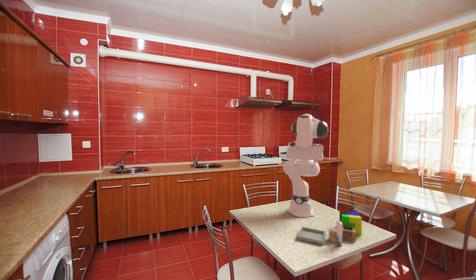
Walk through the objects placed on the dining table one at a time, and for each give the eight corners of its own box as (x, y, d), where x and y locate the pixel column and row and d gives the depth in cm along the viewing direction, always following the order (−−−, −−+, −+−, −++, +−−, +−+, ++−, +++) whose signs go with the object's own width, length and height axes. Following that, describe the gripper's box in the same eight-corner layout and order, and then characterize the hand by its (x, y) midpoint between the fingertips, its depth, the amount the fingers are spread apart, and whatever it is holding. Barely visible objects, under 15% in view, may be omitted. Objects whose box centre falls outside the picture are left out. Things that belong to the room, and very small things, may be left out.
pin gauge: (336, 243, 112) (336, 221, 111) (342, 244, 110) (342, 222, 110) (335, 245, 109) (336, 223, 109) (341, 247, 108) (342, 224, 108)
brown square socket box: (340, 232, 124) (340, 224, 123) (355, 235, 120) (355, 227, 120) (340, 238, 117) (340, 229, 117) (355, 241, 113) (355, 232, 113)
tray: (302, 230, 127) (302, 226, 127) (325, 235, 121) (325, 231, 121) (297, 239, 115) (297, 235, 115) (322, 245, 109) (323, 241, 109)
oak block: (329, 238, 117) (329, 227, 117) (337, 239, 116) (337, 229, 115) (329, 241, 114) (329, 230, 114) (337, 243, 112) (337, 231, 112)
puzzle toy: (357, 228, 130) (357, 212, 130) (361, 235, 121) (361, 218, 120) (339, 226, 133) (339, 210, 133) (342, 233, 123) (342, 216, 123)
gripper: (324, 143, 118) (324, 168, 118) (288, 143, 128) (288, 165, 128) (323, 144, 112) (322, 169, 112) (285, 143, 122) (285, 167, 122)
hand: (304, 167), depth 120 cm, fingers open, 8 cm apart
